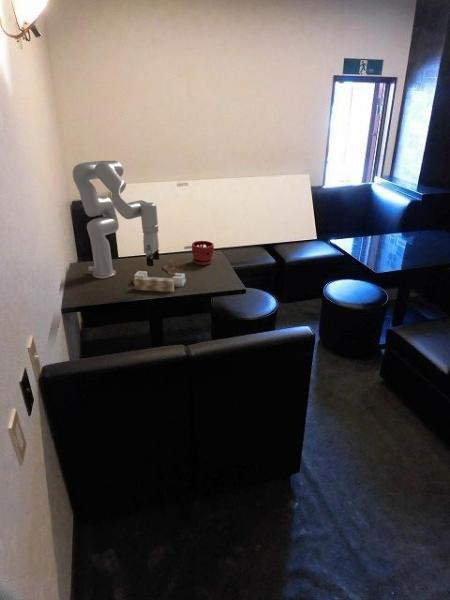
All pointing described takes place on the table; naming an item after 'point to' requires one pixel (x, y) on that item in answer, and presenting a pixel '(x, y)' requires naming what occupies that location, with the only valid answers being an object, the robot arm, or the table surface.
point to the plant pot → (202, 252)
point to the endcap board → (178, 279)
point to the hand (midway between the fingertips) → (153, 262)
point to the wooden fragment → (172, 267)
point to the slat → (154, 284)
